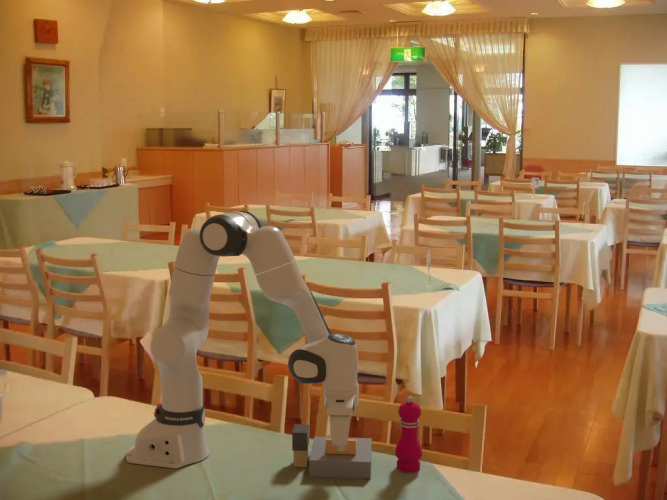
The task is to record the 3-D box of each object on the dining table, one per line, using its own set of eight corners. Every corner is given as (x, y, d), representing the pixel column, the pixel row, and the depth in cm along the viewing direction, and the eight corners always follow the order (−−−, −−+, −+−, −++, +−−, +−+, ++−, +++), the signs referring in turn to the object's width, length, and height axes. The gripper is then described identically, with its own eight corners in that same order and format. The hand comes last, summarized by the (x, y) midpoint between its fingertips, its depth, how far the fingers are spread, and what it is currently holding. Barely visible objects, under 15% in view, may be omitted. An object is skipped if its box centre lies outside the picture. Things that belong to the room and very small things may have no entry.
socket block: (309, 476, 211) (309, 460, 211) (314, 452, 227) (314, 436, 226) (370, 478, 210) (370, 462, 210) (371, 453, 226) (371, 438, 225)
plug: (292, 468, 217) (292, 432, 215) (294, 459, 222) (294, 424, 221) (307, 468, 216) (307, 433, 215) (309, 459, 222) (309, 424, 221)
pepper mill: (420, 474, 213) (422, 402, 210) (393, 472, 214) (394, 399, 211) (423, 463, 220) (425, 393, 217) (396, 461, 221) (398, 391, 218)
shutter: (325, 453, 214) (325, 440, 214) (327, 441, 222) (327, 428, 222) (355, 454, 214) (356, 440, 213) (356, 442, 222) (357, 429, 221)
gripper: (331, 384, 217) (331, 433, 219) (326, 411, 197) (326, 465, 199) (354, 384, 217) (354, 434, 219) (352, 411, 196) (352, 465, 199)
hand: (341, 449), depth 209 cm, fingers closed
